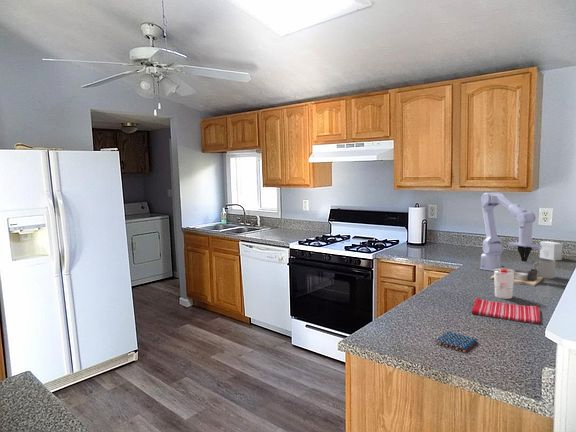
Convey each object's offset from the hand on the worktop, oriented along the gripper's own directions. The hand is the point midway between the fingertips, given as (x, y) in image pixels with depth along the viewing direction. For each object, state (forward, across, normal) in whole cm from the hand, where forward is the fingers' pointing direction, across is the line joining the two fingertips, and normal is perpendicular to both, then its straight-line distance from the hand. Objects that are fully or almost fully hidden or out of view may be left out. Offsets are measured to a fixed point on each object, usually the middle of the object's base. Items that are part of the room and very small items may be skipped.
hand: (524, 261), depth 203 cm
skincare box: (+10, -1, +61) cm, 62 cm away
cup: (+10, +6, +11) cm, 16 cm away
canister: (+10, +2, -37) cm, 38 cm away
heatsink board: (+9, -3, -3) cm, 10 cm away
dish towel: (+10, +9, -58) cm, 59 cm away
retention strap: (+6, -3, -3) cm, 8 cm away
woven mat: (+10, +6, -99) cm, 99 cm away
